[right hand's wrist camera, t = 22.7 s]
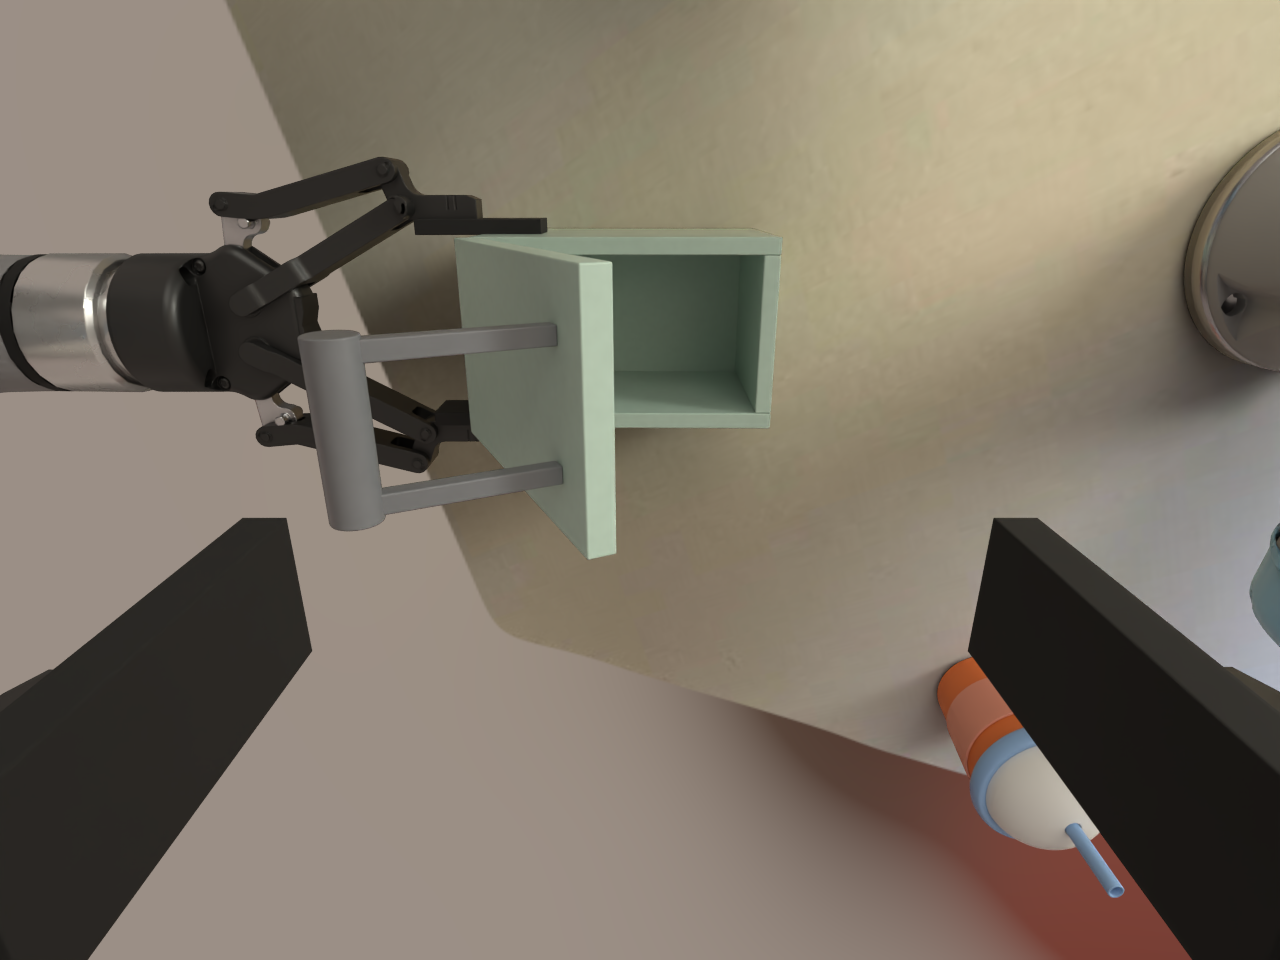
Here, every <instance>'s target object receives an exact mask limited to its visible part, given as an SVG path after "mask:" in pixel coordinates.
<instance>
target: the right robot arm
mask: <svg viewBox="0 0 1280 960" xmlns="http://www.w3.org/2000/svg"><path fill="white" fill-rule="evenodd" d="M1184 288H1185V296H1186V301H1187V305H1188V309H1189V312H1190V315H1191V317H1192V319H1193V321H1194V323H1195V325H1196V327H1197V329H1198V330H1199V332H1200V333H1201V335H1202V336H1203V337H1204V338H1205V339H1206V340H1207V342H1208V343H1209V344H1211V345H1212V346H1213V347H1214V348H1215V349H1216V350H1218V351H1219V352H1221V353H1222V354H1224V355H1226V356H1228V357H1230V358H1232V359H1234V360H1237V361H1239V362H1242V363H1245V364H1249V365H1253V366H1257V367H1260V368H1264V369H1268V370H1272V371H1277V372H1280V130H1279V131H1278V132H1276V133H1274V134H1272V135H1271V136H1270V137H1268V138H1267V139H1265V140H1264V141H1262V142H1261V143H1259V144H1258V145H1257V146H1256V147H1255V148H1253V149H1252V150H1251V151H1250V152H1248V153H1247V154H1246V155H1245V156H1244V157H1243V158H1242V159H1241V160H1240V161H1239V162H1238V163H1237V164H1236V165H1235V166H1234V167H1233V168H1232V169H1231V170H1230V171H1229V172H1228V174H1227V175H1226V176H1225V177H1224V178H1223V180H1222V181H1221V182H1220V184H1219V185H1218V186H1217V188H1216V189H1215V190H1214V192H1213V193H1212V195H1211V196H1210V198H1209V200H1208V201H1207V203H1206V205H1205V207H1204V208H1203V210H1202V212H1201V214H1200V216H1199V218H1198V221H1197V223H1196V225H1195V228H1194V230H1193V233H1192V236H1191V239H1190V243H1189V246H1188V250H1187V255H1186V261H1185V270H1184ZM1250 597H1251V601H1252V609H1253V612H1254V614H1255V616H1256V618H1257V620H1258V621H1259V623H1260V625H1261V626H1262V628H1263V629H1264V630H1265V631H1266V633H1267V634H1268V635H1269V636H1270V637H1271V638H1272V640H1273V641H1274V642H1275V643H1276V644H1277V645H1278V646H1279V647H1280V523H1279V524H1278V525H1277V527H1276V528H1275V529H1274V531H1273V533H1272V535H1271V541H1270V548H1269V550H1268V552H1267V554H1266V555H1265V557H1264V559H1263V561H1262V563H1261V565H1260V566H1259V568H1258V570H1257V572H1256V574H1255V576H1254V578H1253V580H1252V582H1251V586H1250ZM311 652H312V648H311V643H310V637H309V632H308V627H307V622H306V617H305V612H304V607H303V601H302V596H301V591H300V586H299V581H298V576H297V570H296V565H295V560H294V555H293V550H292V545H291V540H290V534H289V529H288V524H287V519H286V518H242V519H241V520H240V521H238V522H237V523H236V524H235V525H233V526H232V527H231V528H230V529H228V530H227V531H226V532H225V533H223V534H222V535H221V536H220V537H218V538H217V539H216V540H215V541H213V542H212V543H211V544H210V545H208V546H207V547H206V548H205V549H203V550H202V551H201V552H200V553H198V554H197V555H196V556H195V557H193V558H192V559H191V560H190V561H188V562H187V563H186V564H185V565H183V566H182V567H181V568H180V569H178V570H177V571H176V572H175V573H173V574H172V575H171V576H170V577H168V578H167V579H166V580H165V581H163V582H162V583H161V584H160V585H158V586H157V587H156V588H155V589H153V590H152V591H151V592H150V593H148V594H147V595H146V596H145V597H143V598H142V599H141V600H140V601H138V602H137V603H136V604H135V605H133V606H132V607H131V608H130V609H128V610H127V611H126V612H125V613H124V614H122V615H121V616H120V617H118V618H117V619H116V620H115V621H114V622H112V623H111V624H110V625H109V626H107V627H106V628H105V629H103V630H102V631H101V632H100V633H98V634H97V635H96V636H95V637H94V638H92V639H91V640H90V641H88V642H87V643H86V644H85V645H83V646H82V647H81V648H80V649H78V650H77V651H76V652H75V653H74V654H72V655H71V656H70V657H68V658H67V659H66V660H65V661H64V662H62V663H61V664H60V665H59V666H57V667H56V668H55V669H54V670H47V671H45V672H43V673H41V674H40V675H38V676H36V677H34V678H32V679H30V680H28V681H26V682H24V683H22V684H20V685H18V686H17V687H15V688H13V689H11V690H9V691H7V692H5V693H3V694H2V695H0V960H88V959H89V957H90V956H91V954H92V953H93V952H94V950H95V949H96V947H97V946H98V945H99V943H100V942H101V941H102V939H103V938H104V937H105V935H106V934H107V932H108V931H109V930H110V928H111V927H112V926H113V924H114V923H115V921H116V920H117V919H118V917H119V916H120V914H121V913H122V912H123V910H124V909H125V908H126V906H127V905H128V903H129V902H130V901H131V899H132V898H133V897H134V895H135V894H136V893H137V891H138V890H139V888H140V887H141V886H142V884H143V883H144V882H145V880H146V879H147V877H148V876H149V875H150V873H151V872H152V871H153V869H154V868H155V866H156V865H157V864H158V862H159V861H160V859H161V858H162V857H163V855H164V854H165V853H166V851H167V850H168V848H169V847H170V846H171V844H172V843H173V842H174V840H175V839H176V837H177V836H178V835H179V833H180V832H181V831H182V829H183V828H184V826H185V825H186V824H187V822H188V821H189V820H190V818H191V817H192V815H193V814H194V813H195V811H196V810H197V809H198V807H199V806H200V804H201V803H202V802H203V800H204V799H205V798H206V796H207V795H208V793H209V792H210V791H211V789H212V788H213V787H214V785H215V784H216V782H217V781H218V780H219V778H220V777H221V776H222V774H223V773H224V771H225V770H226V769H227V767H228V766H229V765H230V763H231V762H232V760H233V759H234V758H235V756H236V755H237V754H238V752H239V751H240V749H241V748H242V747H243V745H244V744H245V743H246V741H247V740H248V738H249V737H250V736H251V734H252V733H253V732H254V730H255V729H256V727H257V726H258V725H259V723H260V722H261V721H262V719H263V718H264V716H265V715H266V714H267V712H268V711H269V710H270V708H271V707H272V705H273V704H274V703H275V701H276V700H277V699H278V697H279V696H280V694H281V693H282V692H283V690H284V689H285V688H286V686H287V685H288V683H289V682H290V681H291V679H292V678H293V677H294V675H295V674H296V672H297V671H298V670H299V668H300V667H301V666H302V664H303V663H304V661H305V660H306V659H307V657H308V656H309V655H310V653H311ZM968 652H969V653H970V655H971V656H972V657H973V659H974V660H975V661H976V663H977V664H978V666H979V667H980V668H981V670H982V671H983V672H984V674H985V675H986V677H987V678H988V679H989V681H990V682H991V683H992V685H993V686H994V688H995V689H996V690H997V692H998V693H999V694H1000V696H1001V697H1002V699H1003V700H1004V701H1005V703H1006V704H1007V705H1008V707H1009V708H1010V710H1011V711H1012V712H1013V714H1014V715H1015V716H1016V718H1017V719H1018V721H1019V722H1020V723H1021V725H1022V726H1023V727H1024V729H1025V730H1026V732H1027V733H1028V734H1029V736H1030V737H1031V738H1032V740H1033V741H1034V743H1035V744H1036V745H1037V747H1038V748H1039V749H1040V751H1041V752H1042V754H1043V755H1044V756H1045V758H1046V759H1047V760H1048V762H1049V763H1050V765H1051V766H1052V767H1053V769H1054V770H1055V771H1056V773H1057V774H1058V776H1059V777H1060V778H1061V780H1062V781H1063V782H1064V784H1065V785H1066V787H1067V788H1068V789H1069V791H1070V792H1071V793H1072V795H1073V796H1074V798H1075V799H1076V800H1077V802H1078V803H1079V805H1080V806H1081V807H1082V809H1083V810H1084V811H1085V813H1086V814H1087V816H1088V817H1089V818H1090V820H1091V821H1092V822H1093V824H1094V825H1095V827H1096V828H1097V829H1098V831H1099V832H1100V833H1101V835H1102V836H1103V838H1104V839H1105V840H1106V842H1107V843H1108V844H1109V846H1110V847H1111V849H1112V850H1113V851H1114V853H1115V854H1116V855H1117V857H1118V858H1119V860H1120V861H1121V862H1122V864H1123V865H1124V866H1125V868H1126V869H1127V871H1128V872H1129V873H1130V875H1131V876H1132V877H1133V879H1134V880H1135V882H1136V883H1137V884H1138V886H1139V887H1140V888H1141V890H1142V891H1143V893H1144V894H1145V895H1146V897H1147V898H1148V899H1149V901H1150V902H1151V904H1152V905H1153V906H1154V908H1155V909H1156V910H1157V912H1158V913H1159V915H1160V916H1161V917H1162V919H1163V920H1164V921H1165V923H1166V924H1167V926H1168V927H1169V928H1170V930H1171V931H1172V932H1173V934H1174V935H1175V937H1176V938H1177V939H1178V941H1179V942H1180V943H1181V945H1182V946H1183V948H1184V949H1185V950H1186V952H1187V953H1188V954H1189V956H1190V957H1191V959H1192V960H1280V692H1279V691H1277V690H1275V689H1273V688H1271V687H1270V686H1268V685H1266V684H1264V683H1262V682H1260V681H1258V680H1256V679H1254V678H1252V677H1250V676H1248V675H1246V674H1244V673H1242V672H1241V671H1239V670H1237V669H1235V668H1233V667H1223V666H1221V665H1220V664H1219V663H1218V662H1216V661H1215V660H1214V659H1213V658H1211V657H1210V656H1209V655H1208V654H1207V653H1205V652H1204V651H1203V650H1202V649H1200V648H1199V647H1198V646H1197V645H1195V644H1194V643H1193V642H1192V641H1190V640H1189V639H1188V638H1187V637H1185V636H1184V635H1183V634H1182V633H1180V632H1179V631H1178V630H1177V629H1175V628H1174V627H1173V626H1172V625H1170V624H1169V623H1168V622H1167V621H1165V620H1164V619H1163V618H1162V617H1160V616H1159V615H1158V614H1157V613H1155V612H1154V611H1153V610H1152V609H1150V608H1149V607H1148V606H1147V605H1145V604H1144V603H1143V602H1142V601H1140V600H1139V599H1138V598H1137V597H1135V596H1134V595H1133V594H1132V593H1130V592H1129V591H1128V590H1127V589H1125V588H1124V587H1123V586H1122V585H1120V584H1119V583H1118V582H1117V581H1115V580H1114V579H1113V578H1112V577H1110V576H1109V575H1108V574H1107V573H1105V572H1104V571H1103V570H1102V569H1100V568H1099V567H1098V566H1097V565H1095V564H1094V563H1093V562H1092V561H1090V560H1089V559H1088V558H1087V557H1085V556H1084V555H1083V554H1082V553H1080V552H1079V551H1078V550H1077V549H1075V548H1074V547H1073V546H1072V545H1070V544H1069V543H1068V542H1067V541H1065V540H1064V539H1063V538H1062V537H1060V536H1059V535H1058V534H1057V533H1055V532H1054V531H1053V530H1052V529H1050V528H1049V527H1048V526H1047V525H1045V524H1044V523H1043V522H1042V521H1040V520H1039V519H1038V518H994V519H993V524H992V529H991V534H990V539H989V545H988V550H987V555H986V560H985V565H984V570H983V576H982V581H981V586H980V591H979V596H978V601H977V606H976V612H975V617H974V622H973V627H972V632H971V637H970V642H969V648H968Z"/></svg>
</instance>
